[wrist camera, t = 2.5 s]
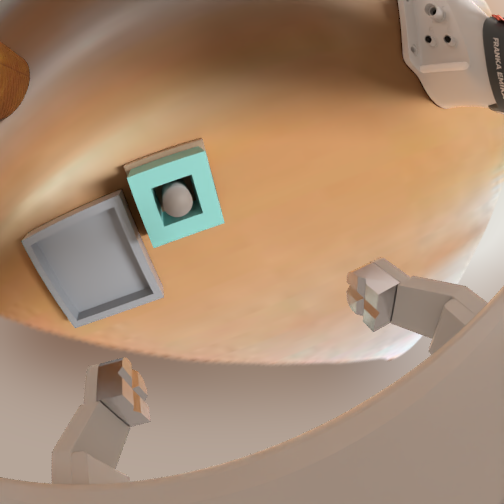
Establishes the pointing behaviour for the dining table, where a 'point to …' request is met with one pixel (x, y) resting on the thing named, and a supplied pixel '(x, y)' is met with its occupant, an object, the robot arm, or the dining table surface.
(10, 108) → the disposable coffee cup
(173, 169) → the ring
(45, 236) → the tray
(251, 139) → the dining table surface
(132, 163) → the stake
